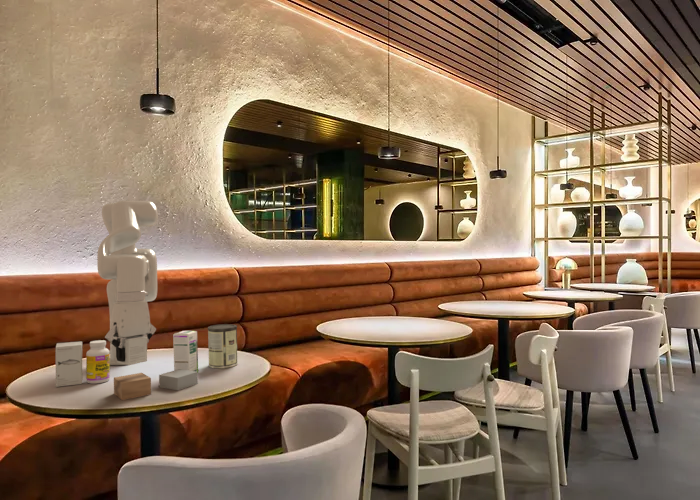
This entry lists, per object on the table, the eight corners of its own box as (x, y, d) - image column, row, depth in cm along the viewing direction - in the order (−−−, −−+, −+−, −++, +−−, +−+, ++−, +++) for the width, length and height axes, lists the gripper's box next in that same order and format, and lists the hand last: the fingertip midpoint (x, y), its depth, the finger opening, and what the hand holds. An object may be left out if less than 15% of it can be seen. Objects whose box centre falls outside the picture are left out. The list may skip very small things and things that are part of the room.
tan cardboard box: (114, 394, 144) (113, 377, 144) (142, 389, 149) (141, 372, 149) (122, 400, 138) (121, 383, 138) (151, 394, 143) (150, 377, 143)
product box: (116, 362, 142) (116, 337, 142) (135, 358, 147) (135, 334, 147) (128, 365, 139) (128, 339, 139) (147, 361, 144) (147, 336, 144)
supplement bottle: (94, 385, 153) (93, 344, 152) (82, 382, 156) (81, 342, 156) (114, 380, 158) (113, 340, 158) (102, 377, 162) (101, 338, 162)
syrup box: (189, 377, 160) (189, 333, 160) (173, 376, 162) (172, 333, 161) (198, 373, 166) (198, 330, 166) (182, 372, 167) (182, 330, 167)
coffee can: (216, 361, 183) (215, 323, 183) (241, 362, 181) (241, 324, 181) (203, 368, 173) (202, 328, 173) (230, 369, 171) (229, 329, 171)
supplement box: (55, 387, 151) (54, 346, 150) (56, 381, 157) (56, 342, 157) (82, 384, 154) (81, 344, 154) (83, 378, 161) (82, 340, 160)
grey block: (159, 387, 150) (159, 374, 150) (179, 381, 157) (179, 369, 157) (177, 391, 146) (177, 377, 146) (197, 384, 154) (197, 371, 154)
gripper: (149, 294, 152) (150, 352, 152) (95, 299, 138) (96, 363, 138) (164, 295, 148) (165, 354, 148) (109, 301, 134) (110, 366, 134)
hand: (132, 358), depth 143 cm, fingers closed on product box, 6 cm apart
